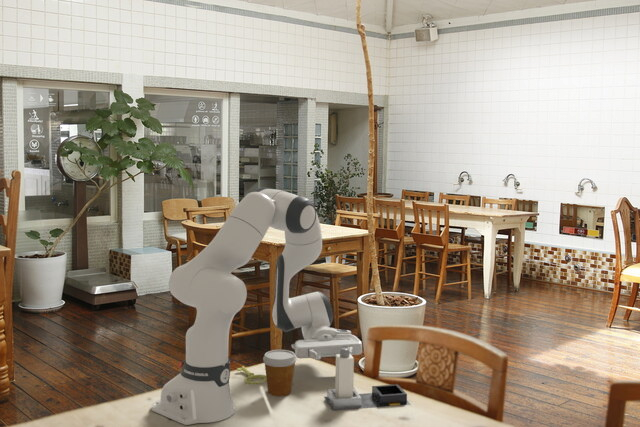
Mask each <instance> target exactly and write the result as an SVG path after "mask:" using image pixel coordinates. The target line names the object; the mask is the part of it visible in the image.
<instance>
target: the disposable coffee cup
mask: <svg viewBox="0 0 640 427" xmlns="http://www.w3.org/2000/svg"><path fill="white" fill-rule="evenodd" d="M297 360H298V359H297V357H296V355H295V351H292V350H288V349H273V350H269V351H267V352H265V353H264V356H263V357H262V361H263V363H264V370H265V376H266V379H267V381H266V385H267V393H268V395H270V396H273V397H286V396H289V395H290V394H292V388H293V387H292V386H293V381H294V379H293V378H294V374H295V373H294V372H295V366H296V365H295V364H296V363H297V362H296V361H297Z"/></svg>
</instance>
